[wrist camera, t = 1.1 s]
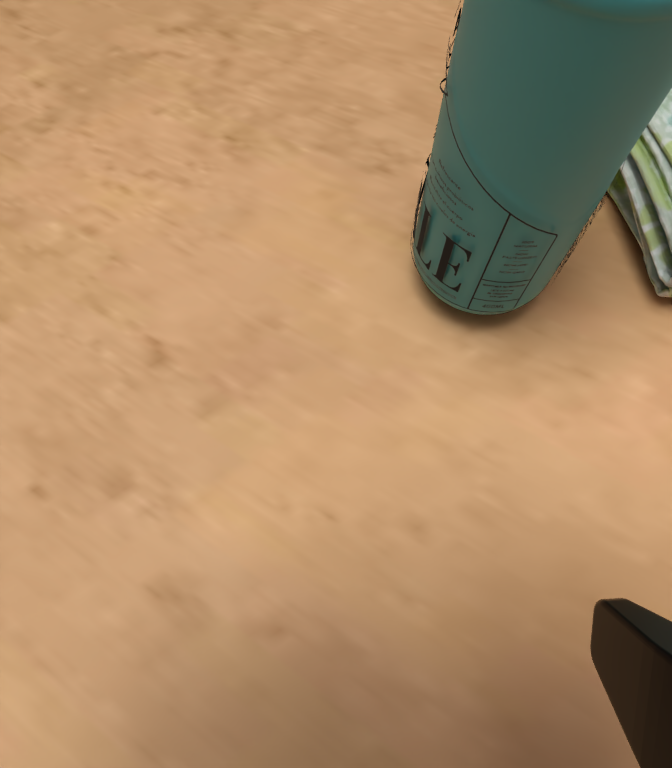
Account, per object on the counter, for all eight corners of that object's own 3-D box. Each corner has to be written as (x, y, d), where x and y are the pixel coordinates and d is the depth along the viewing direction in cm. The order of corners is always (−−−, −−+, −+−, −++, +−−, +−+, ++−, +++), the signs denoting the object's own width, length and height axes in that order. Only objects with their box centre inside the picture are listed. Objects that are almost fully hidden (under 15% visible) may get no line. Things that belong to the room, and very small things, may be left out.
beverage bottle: (570, 265, 27) (1072, -461, 9) (489, 365, 26) (906, -284, 7) (457, 192, 29) (680, -562, 10) (373, 282, 27) (459, -438, 8)
